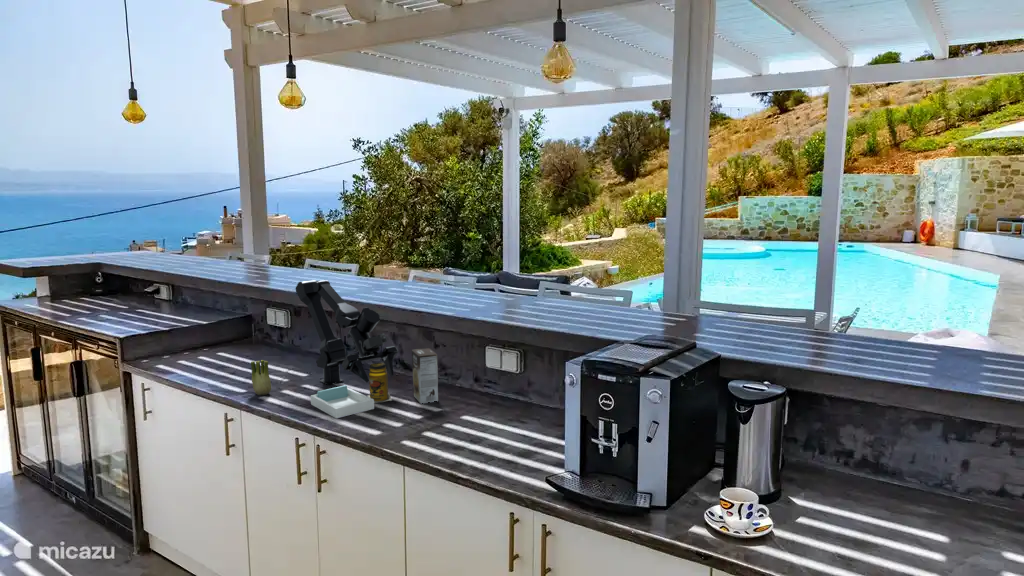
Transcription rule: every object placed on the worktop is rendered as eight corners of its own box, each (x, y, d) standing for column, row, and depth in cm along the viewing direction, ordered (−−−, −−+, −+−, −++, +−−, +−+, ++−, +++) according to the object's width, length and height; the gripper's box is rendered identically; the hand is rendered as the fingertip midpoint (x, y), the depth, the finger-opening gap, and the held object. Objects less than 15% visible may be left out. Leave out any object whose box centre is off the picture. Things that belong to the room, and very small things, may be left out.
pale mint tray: (309, 403, 212) (309, 394, 211) (346, 395, 220) (345, 386, 220) (336, 418, 197) (335, 408, 197) (374, 408, 206) (373, 399, 205)
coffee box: (412, 396, 218) (410, 349, 216) (431, 393, 220) (429, 347, 218) (419, 404, 210) (418, 355, 207) (439, 401, 212) (437, 353, 210)
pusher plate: (317, 402, 210) (317, 391, 210) (346, 395, 217) (345, 385, 216) (319, 403, 210) (318, 392, 209) (347, 396, 216) (347, 385, 215)
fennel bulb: (251, 395, 222) (248, 361, 220) (262, 391, 226) (260, 357, 224) (263, 397, 219) (260, 363, 217) (274, 393, 223) (272, 359, 221)
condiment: (369, 403, 211) (367, 367, 209) (367, 396, 219) (365, 361, 217) (392, 401, 213) (390, 365, 211) (389, 393, 221) (387, 359, 219)
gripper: (344, 331, 210) (362, 370, 203) (394, 322, 222) (413, 360, 215) (334, 350, 217) (351, 389, 210) (383, 341, 229) (401, 378, 222)
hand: (380, 378), depth 214 cm, fingers open, 9 cm apart
